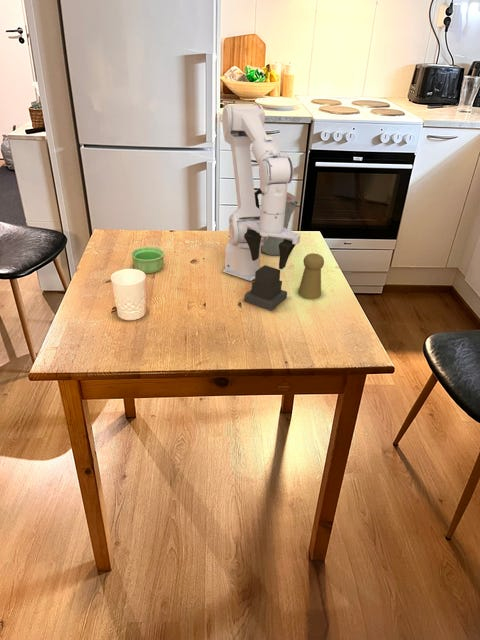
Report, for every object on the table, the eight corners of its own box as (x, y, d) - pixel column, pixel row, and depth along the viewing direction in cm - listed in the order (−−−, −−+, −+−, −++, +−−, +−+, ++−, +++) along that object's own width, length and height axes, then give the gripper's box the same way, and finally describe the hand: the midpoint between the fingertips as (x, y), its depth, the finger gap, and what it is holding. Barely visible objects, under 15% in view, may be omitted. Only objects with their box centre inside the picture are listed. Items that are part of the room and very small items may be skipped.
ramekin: (170, 270, 140) (169, 255, 138) (140, 277, 136) (139, 262, 133) (156, 257, 146) (155, 244, 144) (127, 264, 142) (126, 250, 139)
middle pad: (251, 294, 126) (251, 283, 125) (262, 285, 130) (263, 274, 129) (270, 300, 124) (271, 289, 122) (281, 292, 128) (282, 281, 126)
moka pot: (286, 261, 148) (293, 196, 137) (242, 248, 154) (245, 184, 143) (300, 250, 155) (308, 187, 144) (257, 238, 161) (261, 177, 150)
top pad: (254, 282, 125) (255, 271, 123) (263, 276, 128) (264, 264, 126) (270, 288, 123) (271, 276, 121) (279, 281, 126) (280, 269, 124)
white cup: (153, 308, 122) (151, 272, 117) (138, 324, 116) (135, 287, 110) (125, 302, 124) (122, 266, 119) (108, 317, 118) (104, 280, 112)
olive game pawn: (320, 300, 129) (325, 262, 123) (297, 297, 130) (301, 259, 124) (321, 289, 134) (327, 252, 128) (299, 286, 135) (303, 249, 129)
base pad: (244, 301, 127) (244, 294, 126) (260, 289, 133) (260, 282, 132) (271, 311, 123) (272, 304, 122) (286, 298, 129) (287, 291, 128)
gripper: (237, 208, 115) (235, 261, 123) (292, 222, 109) (286, 277, 116) (252, 200, 121) (249, 251, 128) (306, 213, 114) (300, 266, 122)
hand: (268, 263), depth 123 cm, fingers open, 7 cm apart
